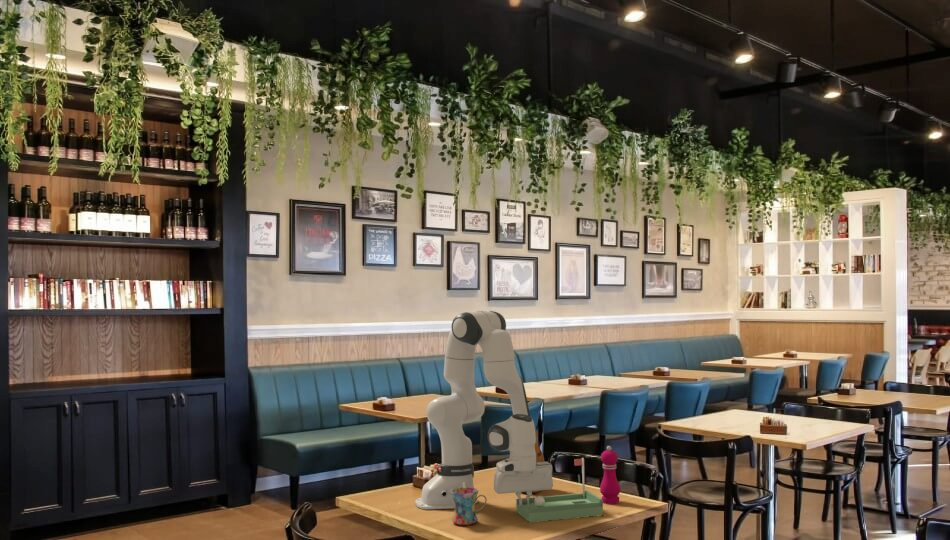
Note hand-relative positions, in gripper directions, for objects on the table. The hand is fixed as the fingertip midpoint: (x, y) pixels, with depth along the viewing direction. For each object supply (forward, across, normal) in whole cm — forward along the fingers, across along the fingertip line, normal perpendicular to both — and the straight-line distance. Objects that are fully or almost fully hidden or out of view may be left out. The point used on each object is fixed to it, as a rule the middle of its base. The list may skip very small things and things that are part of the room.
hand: (524, 504), depth 275 cm
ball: (-1, -6, 0) cm, 6 cm away
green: (+4, -13, 0) cm, 13 cm away
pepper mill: (+4, -36, -9) cm, 37 cm away
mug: (+4, +19, +1) cm, 20 cm away
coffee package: (+4, -14, -35) cm, 38 cm away
